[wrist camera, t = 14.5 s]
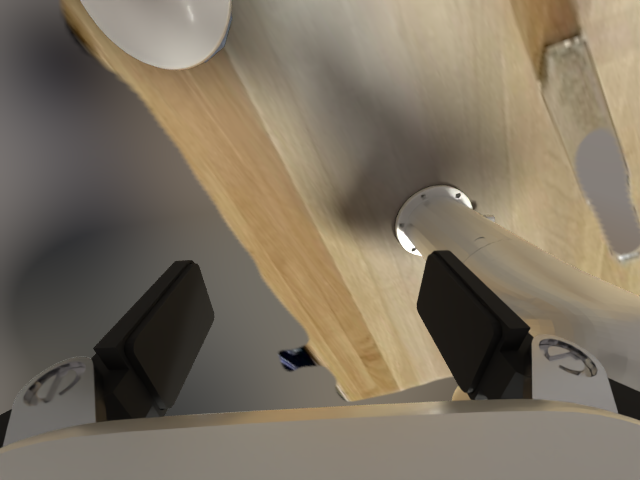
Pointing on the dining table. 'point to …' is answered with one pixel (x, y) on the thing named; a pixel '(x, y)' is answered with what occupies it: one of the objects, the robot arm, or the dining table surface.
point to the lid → (163, 28)
